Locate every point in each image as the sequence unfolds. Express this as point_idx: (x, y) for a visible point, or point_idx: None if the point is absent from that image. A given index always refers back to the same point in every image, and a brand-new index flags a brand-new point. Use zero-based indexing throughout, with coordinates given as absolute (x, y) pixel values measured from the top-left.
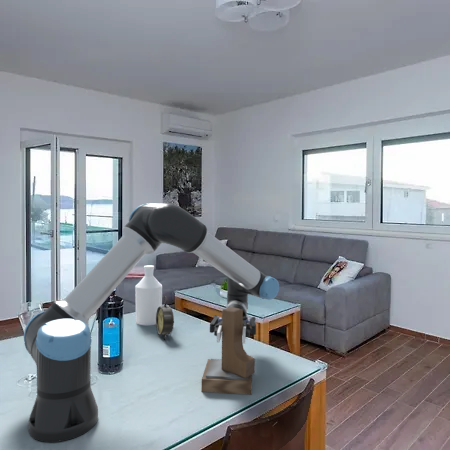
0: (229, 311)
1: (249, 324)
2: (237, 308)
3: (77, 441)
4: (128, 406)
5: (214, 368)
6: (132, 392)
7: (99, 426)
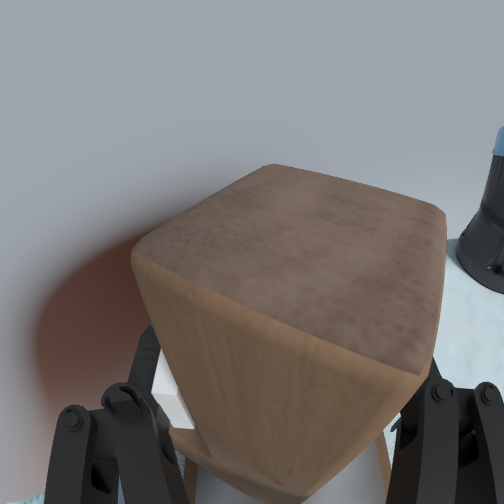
0: (333, 179)
1: (109, 387)
2: (227, 249)
3: (449, 244)
4: (466, 312)
5: (352, 465)
6: (497, 353)
7: (455, 266)
